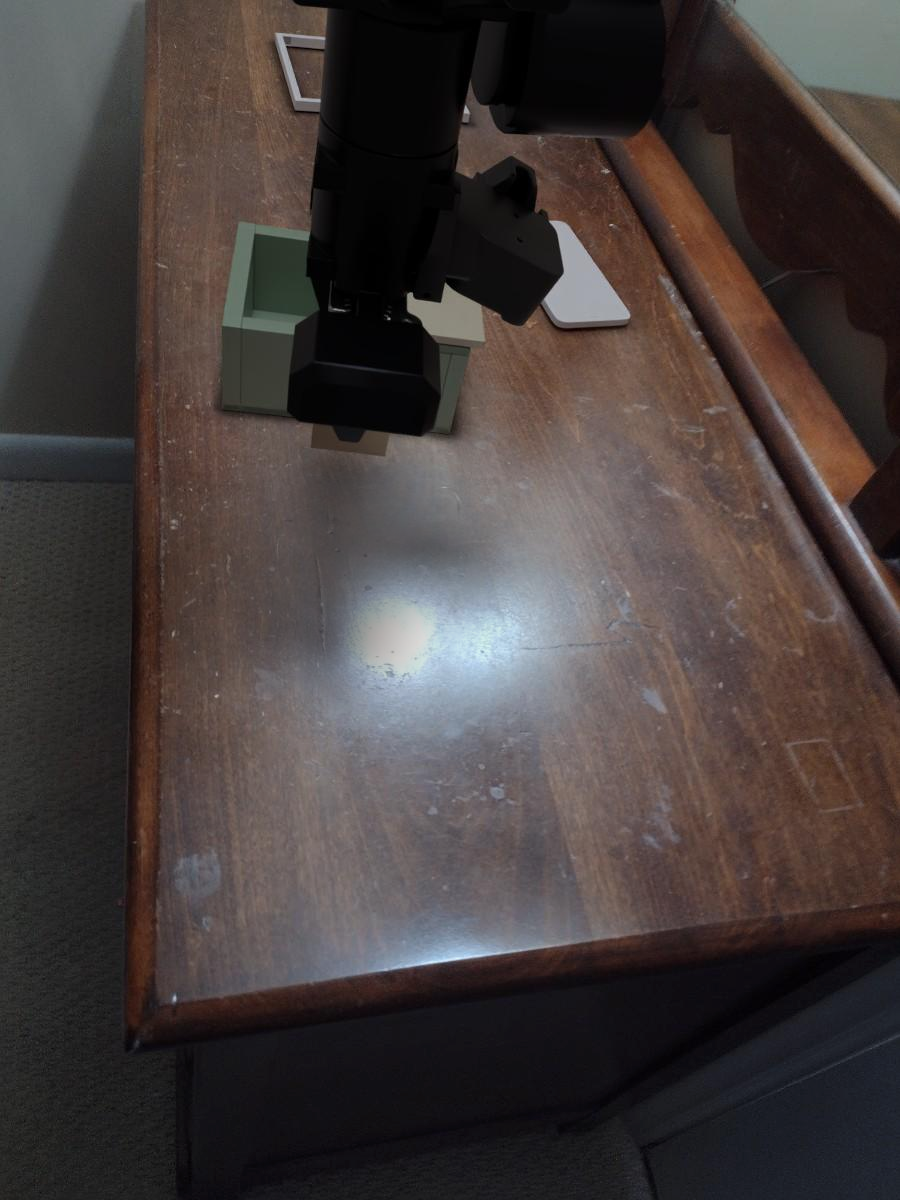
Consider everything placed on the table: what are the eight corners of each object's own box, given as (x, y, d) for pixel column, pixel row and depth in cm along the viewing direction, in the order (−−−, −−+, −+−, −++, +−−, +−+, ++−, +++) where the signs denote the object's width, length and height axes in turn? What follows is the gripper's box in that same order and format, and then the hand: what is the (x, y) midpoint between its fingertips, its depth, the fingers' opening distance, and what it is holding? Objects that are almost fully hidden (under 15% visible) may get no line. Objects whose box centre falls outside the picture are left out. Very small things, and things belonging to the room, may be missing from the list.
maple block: (310, 448, 49) (316, 389, 46) (315, 398, 51) (320, 339, 48) (385, 457, 50) (396, 399, 46) (386, 407, 52) (396, 349, 49)
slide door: (357, 333, 59) (365, 270, 56) (359, 229, 66) (367, 168, 63) (483, 349, 61) (499, 288, 57) (472, 246, 68) (485, 186, 64)
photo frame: (470, 111, 95) (295, 98, 90) (468, 122, 96) (294, 110, 90) (437, 46, 103) (275, 30, 98) (435, 56, 104) (274, 41, 99)
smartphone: (565, 220, 86) (634, 318, 78) (563, 227, 87) (631, 326, 79) (494, 221, 84) (558, 323, 76) (492, 228, 84) (555, 330, 76)
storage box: (222, 409, 64) (221, 317, 58) (238, 304, 71) (238, 213, 65) (449, 434, 66) (470, 348, 60) (442, 331, 74) (461, 245, 68)
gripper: (609, 286, 33) (507, 560, 45) (557, 59, 44) (486, 327, 57) (297, 237, 31) (277, 537, 43) (326, 13, 43) (304, 301, 55)
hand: (350, 412), depth 50 cm, fingers closed on maple block, 4 cm apart
